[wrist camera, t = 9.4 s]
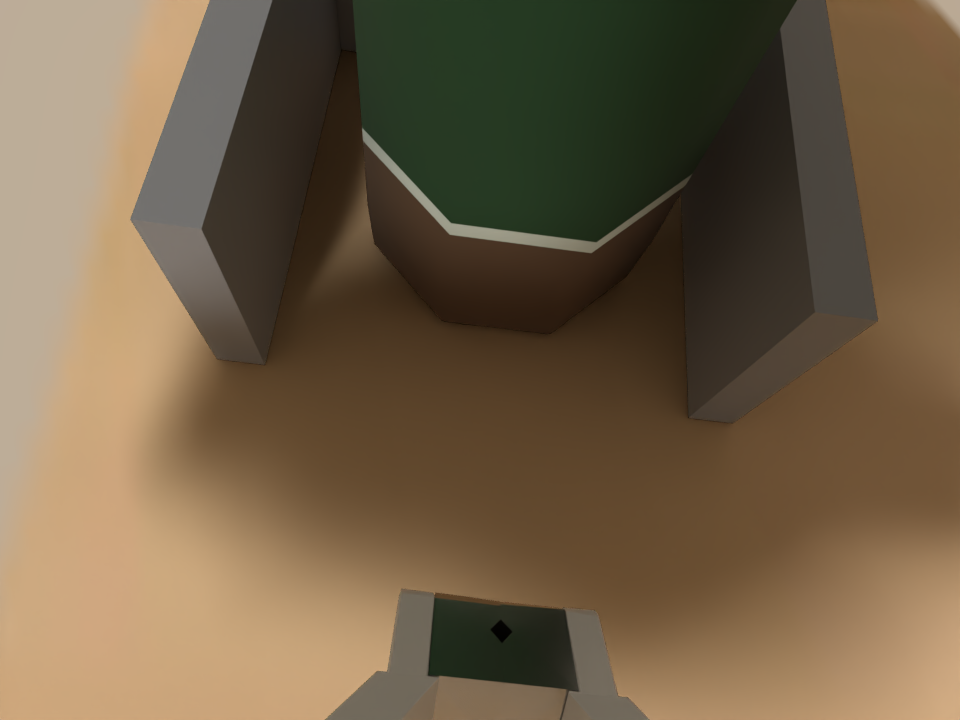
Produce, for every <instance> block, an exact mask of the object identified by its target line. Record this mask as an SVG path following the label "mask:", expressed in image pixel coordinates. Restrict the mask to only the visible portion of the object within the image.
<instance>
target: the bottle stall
mask: <svg viewBox="0 0 960 720" xmlns="http://www.w3.org/2000/svg"><path fill="white" fill-rule="evenodd" d="M341 50H348V51H354V52H356V40H355V26H354V13H353V0H210V2H209V4H208V7H207V10H206V13H205V15H204V18H203V21H202V24H201V26H200V29H199V32H198V35H197V37H196V40H195V43H194V46H193V48H192V51H191V54H190V57H189V59H188V62H187V65H186V68H185V70H184V73H183V76H182V79H181V81H180V84H179V87H178V90H177V92H176V95H175V98H174V101H173V103H172V106H171V109H170V112H169V114H168V117H167V120H166V123H165V125H164V128H163V131H162V134H161V136H160V139H159V142H158V145H157V147H156V150H155V153H154V156H153V158H152V161H151V164H150V167H149V169H148V172H147V175H146V178H145V180H144V183H143V186H142V189H141V191H140V194H139V197H138V200H137V202H136V205H135V208H134V211H133V213H132V216H131V219H130V220H131V221H132V223H133V225H134V226H135V228H136V229H137V231H138V233H139V234H140V236H141V237H142V239H143V241H144V242H145V244H146V245H147V247H148V249H149V250H150V252H151V254H152V255H153V257H154V258H155V260H156V262H157V263H158V265H159V266H160V268H161V270H162V271H163V273H164V274H165V276H166V278H167V279H168V281H169V283H170V284H171V286H172V287H173V289H174V291H175V292H176V294H177V295H178V297H179V299H180V300H181V302H182V304H183V305H184V307H185V308H186V310H187V312H188V313H189V315H190V316H191V318H192V320H193V321H194V323H195V324H196V326H197V328H198V329H199V331H200V333H201V334H202V336H203V337H204V339H205V341H206V342H207V344H208V345H209V347H210V349H211V350H212V352H213V353H214V355H215V357H216V358H217V359H222V360H230V361H238V362H246V363H254V364H262V365H265V363H266V359H267V355H268V350H269V346H270V342H271V338H272V334H273V330H274V326H275V321H276V317H277V313H278V309H279V305H280V301H281V296H282V292H283V288H284V284H285V280H286V276H287V272H288V267H289V263H290V259H291V255H292V251H293V247H294V243H295V238H296V234H297V230H298V226H299V222H300V218H301V214H302V209H303V205H304V201H305V197H306V193H307V189H308V185H309V180H310V176H311V172H312V168H313V164H314V160H315V156H316V151H317V147H318V143H319V139H320V135H321V131H322V126H323V122H324V118H325V114H326V110H327V106H328V102H329V97H330V93H331V89H332V85H333V81H334V77H335V73H336V68H337V64H338V60H339V56H340V52H341ZM681 213H682V243H683V272H684V301H685V330H686V360H687V389H688V418H694V419H702V420H710V421H718V422H726V423H734V422H735V421H737V420H738V419H740V418H741V417H742V416H744V415H745V414H747V413H748V412H750V411H751V410H752V409H754V408H755V407H757V406H758V405H759V404H761V403H762V402H764V401H765V400H767V399H768V398H769V397H771V396H772V395H774V394H775V393H776V392H778V391H779V390H781V389H782V388H784V387H785V386H786V385H788V384H789V383H791V382H792V381H793V380H795V379H796V378H798V377H799V376H801V375H802V374H803V373H805V372H806V371H808V370H809V369H811V368H812V367H813V366H815V365H816V364H818V363H819V362H820V361H822V360H823V359H825V358H826V357H828V356H829V355H830V354H832V353H833V352H835V351H836V350H837V349H839V348H840V347H842V346H843V345H845V344H846V343H847V342H849V341H850V340H852V339H853V338H854V337H856V336H857V335H859V334H860V333H862V332H863V331H864V330H866V329H867V328H869V327H870V326H871V325H873V324H874V323H876V322H877V321H878V317H877V311H876V305H875V299H874V293H873V287H872V281H871V275H870V269H869V262H868V256H867V250H866V244H865V238H864V232H863V226H862V220H861V214H860V207H859V201H858V195H857V189H856V183H855V177H854V171H853V165H852V159H851V153H850V146H849V140H848V134H847V128H846V122H845V116H844V110H843V104H842V98H841V92H840V85H839V79H838V73H837V67H836V61H835V55H834V49H833V43H832V37H831V31H830V24H829V18H828V12H827V6H826V0H797V1H796V3H795V5H794V6H793V8H792V9H791V11H790V13H789V14H788V16H787V18H786V19H785V21H784V23H783V24H782V26H781V28H780V29H779V31H778V33H777V34H776V36H775V38H774V39H773V41H772V43H771V44H770V46H769V48H768V49H767V51H766V53H765V54H764V56H763V58H762V59H761V61H760V63H759V64H758V66H757V68H756V69H755V71H754V73H753V74H752V76H751V78H750V79H749V81H748V83H747V84H746V86H745V88H744V89H743V91H742V92H741V94H740V96H739V97H738V99H737V101H736V102H735V104H734V106H733V107H732V109H731V111H730V112H729V114H728V116H727V117H726V119H725V121H724V122H723V124H722V126H721V127H720V129H719V131H718V132H717V134H716V136H715V137H714V139H713V141H712V142H711V144H710V146H709V147H708V149H707V151H706V152H705V154H704V156H703V157H702V159H701V161H700V162H699V164H698V166H697V167H696V169H695V171H694V172H693V174H692V175H691V177H690V179H689V180H688V182H687V184H686V185H685V187H684V189H683V190H682V192H681Z"/></svg>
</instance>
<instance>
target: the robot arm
mask: <svg viewBox="0 0 960 720" xmlns="http://www.w3.org/2000/svg"><path fill="white" fill-rule="evenodd" d="M325 720H649V719H648V718H647V716H646V715H645V714H644V713H643V712H642V711H641V710H640V709H639V708H638V707H637V706H636V705H635V704H634V703H633V702H632V701H631V700H630V699H629V698H628V697H620V696H618V693H617V689H616V685H615V681H614V677H613V673H612V668H611V664H610V660H609V656H608V652H607V648H606V644H605V639H604V635H603V631H602V627H601V623H600V619H599V615H598V614H597V612H596V611H595V610H587V609H576V608H565V607H563V608H557V607H547V606H538V605H528V604H519V603H510V602H500V601H494V600H486V599H479V598H472V597H464V596H457V595H450V594H442V593H435V595H434V594H433V593H431V592H424V591H416V590H408V589H401V592H400V594H399V600H398V606H397V612H396V619H395V625H394V632H393V638H392V644H391V651H390V657H389V663H388V670H387V672H383V671H377V672H375V673H374V674H373V675H372V676H371V677H370V678H369V679H368V680H367V681H366V682H365V683H364V684H363V685H362V686H360V687H359V688H358V689H357V690H356V691H355V692H354V693H353V694H352V695H351V696H350V697H349V698H348V699H347V700H346V701H344V702H343V703H342V704H341V705H340V706H339V707H338V708H337V709H336V710H335V711H334V712H333V713H332V714H331V715H329V716H328V717H327V718H326V719H325Z"/></svg>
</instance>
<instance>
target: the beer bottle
mask: <svg viewBox="0 0 960 720" xmlns="http://www.w3.org/2000/svg"><path fill="white" fill-rule="evenodd" d="M796 1H797V0H353V13H354V26H355V40H356V53H357V67H358V80H359V94H360V107H361V120H362V134H363V147H364V161H365V174H366V187H367V201H368V209H369V215H370V221H371V227H372V232H373V238H374V244H375V245H376V246H377V247H378V248H379V250H380V251H381V252H382V253H383V254H384V255H385V256H386V258H387V259H388V260H389V261H390V262H391V263H392V264H393V266H394V267H395V268H396V269H397V270H398V271H399V272H400V273H401V275H402V276H403V277H404V278H405V279H406V280H407V281H408V283H409V284H410V285H411V286H412V287H413V288H414V289H415V291H416V292H417V293H418V294H419V295H420V296H421V297H422V298H423V300H424V301H425V302H426V303H427V304H428V305H429V306H430V308H431V309H432V310H433V311H434V312H435V313H436V314H437V315H438V317H439V318H440V319H441V320H443V321H447V322H455V323H463V324H471V325H479V326H487V327H496V328H504V329H512V330H520V331H528V332H536V333H544V334H550V333H552V332H553V331H555V330H556V329H557V328H559V327H560V326H561V325H563V324H564V323H565V322H567V321H568V320H569V319H571V318H572V317H573V316H575V315H576V314H577V313H579V312H580V311H581V310H582V309H584V308H585V307H586V306H588V305H589V304H590V303H592V302H593V301H594V300H596V299H597V298H598V297H600V296H601V295H602V294H604V293H605V292H606V291H608V290H609V289H610V288H612V287H613V286H614V285H616V284H617V283H618V282H620V281H621V280H622V279H624V278H625V277H626V276H627V275H628V273H629V272H630V271H631V269H632V268H633V267H634V265H635V264H636V263H637V261H638V260H639V258H640V257H641V256H642V254H643V253H644V252H645V250H646V249H647V248H648V246H649V245H650V243H651V242H652V240H653V239H654V237H655V235H656V234H657V232H658V230H659V229H660V227H661V225H662V224H663V222H664V220H665V219H666V217H667V215H668V214H669V212H670V210H671V209H672V207H673V205H674V204H675V202H676V200H677V199H678V197H679V195H680V194H681V192H682V190H683V189H684V187H685V185H686V184H687V182H688V180H689V179H690V177H691V175H692V174H693V172H694V171H695V169H696V167H697V166H698V164H699V162H700V161H701V159H702V157H703V156H704V154H705V152H706V151H707V149H708V147H709V146H710V144H711V142H712V141H713V139H714V137H715V136H716V134H717V132H718V131H719V129H720V127H721V126H722V124H723V122H724V121H725V119H726V117H727V116H728V114H729V112H730V111H731V109H732V107H733V106H734V104H735V102H736V101H737V99H738V97H739V96H740V94H741V92H742V91H743V89H744V88H745V86H746V84H747V83H748V81H749V79H750V78H751V76H752V74H753V73H754V71H755V69H756V68H757V66H758V64H759V63H760V61H761V59H762V58H763V56H764V54H765V53H766V51H767V49H768V48H769V46H770V44H771V43H772V41H773V39H774V38H775V36H776V34H777V33H778V31H779V29H780V28H781V26H782V24H783V23H784V21H785V19H786V18H787V16H788V14H789V13H790V11H791V9H792V8H793V6H794V5H795V3H796Z"/></svg>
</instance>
